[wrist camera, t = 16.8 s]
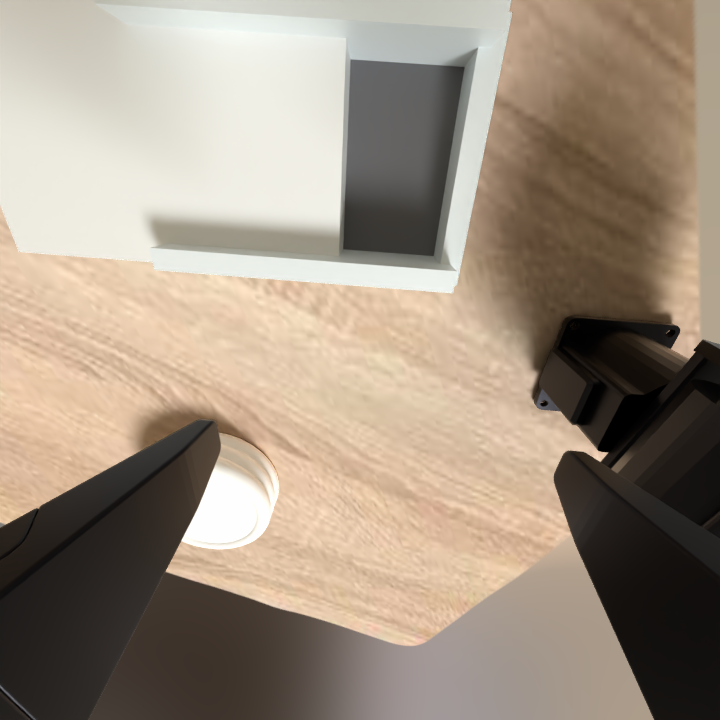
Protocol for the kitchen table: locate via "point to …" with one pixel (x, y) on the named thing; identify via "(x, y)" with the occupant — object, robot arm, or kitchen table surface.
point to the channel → (250, 134)
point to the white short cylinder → (235, 498)
